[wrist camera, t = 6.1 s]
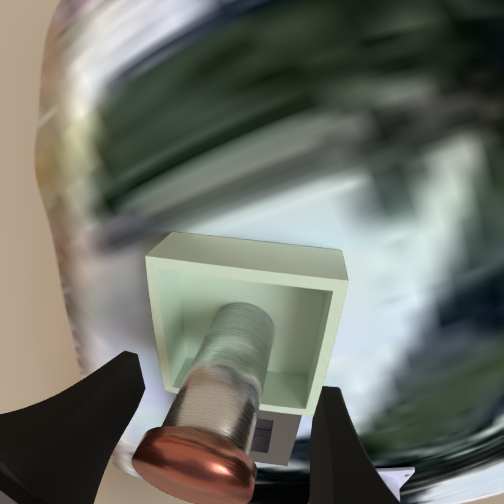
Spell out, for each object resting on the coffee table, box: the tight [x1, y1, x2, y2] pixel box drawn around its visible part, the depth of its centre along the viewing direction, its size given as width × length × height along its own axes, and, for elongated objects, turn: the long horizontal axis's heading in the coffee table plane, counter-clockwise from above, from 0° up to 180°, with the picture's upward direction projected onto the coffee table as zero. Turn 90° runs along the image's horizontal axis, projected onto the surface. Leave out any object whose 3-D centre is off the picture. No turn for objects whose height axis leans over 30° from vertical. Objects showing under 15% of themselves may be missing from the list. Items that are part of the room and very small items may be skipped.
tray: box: [145, 232, 348, 416], centre depth 15 cm, size 8×8×3 cm
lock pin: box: [132, 302, 275, 504], centre depth 12 cm, size 4×4×9 cm
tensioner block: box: [249, 410, 302, 466], centre depth 19 cm, size 7×7×2 cm
